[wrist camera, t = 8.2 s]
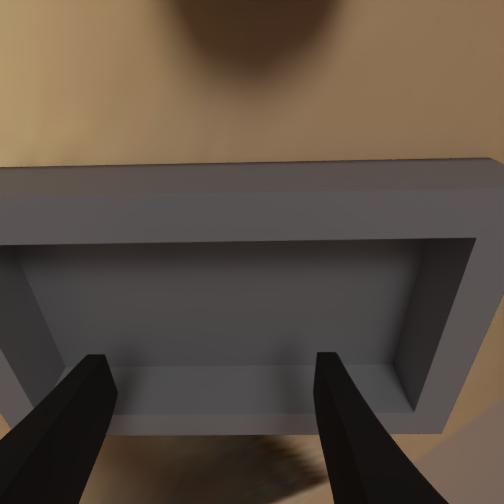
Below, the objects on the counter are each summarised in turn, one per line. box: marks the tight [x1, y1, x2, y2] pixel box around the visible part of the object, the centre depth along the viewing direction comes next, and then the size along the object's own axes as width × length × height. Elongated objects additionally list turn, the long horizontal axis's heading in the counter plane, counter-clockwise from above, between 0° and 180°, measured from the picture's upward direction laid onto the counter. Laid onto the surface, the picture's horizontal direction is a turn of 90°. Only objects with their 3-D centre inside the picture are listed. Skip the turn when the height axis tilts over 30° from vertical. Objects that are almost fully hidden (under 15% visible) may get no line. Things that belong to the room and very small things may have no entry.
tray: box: [0, 158, 504, 436], centre depth 14 cm, size 20×12×3 cm, turn 91°
